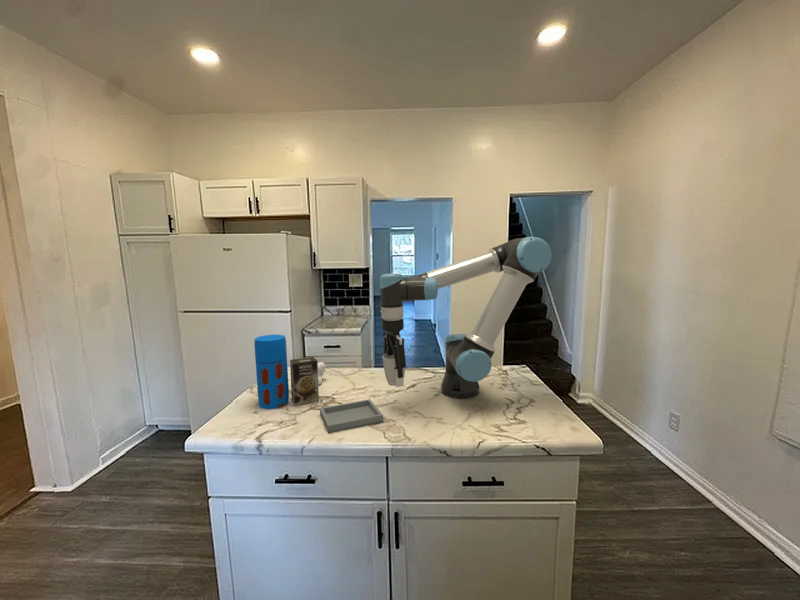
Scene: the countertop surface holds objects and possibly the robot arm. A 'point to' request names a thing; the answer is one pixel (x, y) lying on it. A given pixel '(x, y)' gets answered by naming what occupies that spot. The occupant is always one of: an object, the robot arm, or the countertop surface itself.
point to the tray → (350, 415)
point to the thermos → (271, 371)
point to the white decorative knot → (321, 371)
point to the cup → (390, 368)
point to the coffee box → (304, 381)
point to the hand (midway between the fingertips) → (395, 382)
